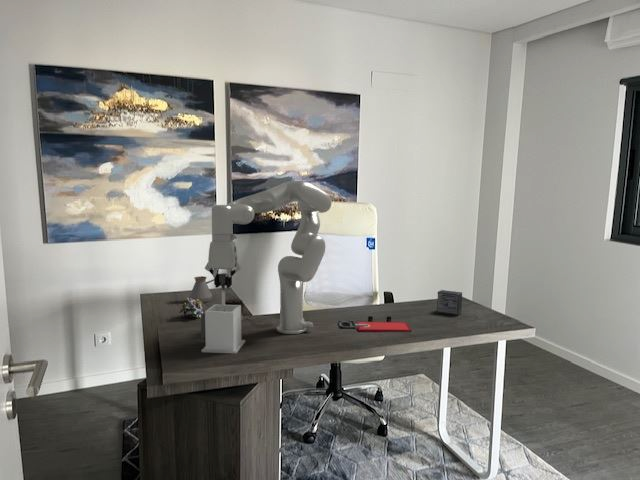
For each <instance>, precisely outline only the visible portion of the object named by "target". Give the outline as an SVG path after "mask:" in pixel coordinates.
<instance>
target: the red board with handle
mask: <svg viewBox="0 0 640 480" xmlns="http://www.w3.org/2000/svg"><path fill="white" fill-rule="evenodd" d="M373 318H374V316H370V315H369V316H368V317H367V321H355V322H354V320H353V321H352V320H351V321H350V320H349V321H348V320H346V321H345V320H341V321H340V320H338V324H339V327H340V328H354V329H357V332H359V333H363V332H364V333H368V332H369V333H371V332H372V333H374V332H375V333H378V332H379V333H382V332H383V333H387V332H388V333H389V332H390V333H393V332H394V333H401V332H402V333H405V332H406V333H407V332H409V333H412V332H413V331H412V328H410V326H409V324H408V323H407V322H406V321H392V316H386V321H373V320H374V319H373Z"/></svg>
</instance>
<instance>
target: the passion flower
mask: <svg viewBox="0 0 640 480" xmlns="http://www.w3.org/2000/svg"><path fill="white" fill-rule="evenodd" d="M186 300H187V303H186V302H184V303H181V304H180V306H181V307H182V309H181V310H179V313H178V314H181V313H182V312H183V313H182V318H184V317H185V315H186V314H187V313H189V312H191V314H192V315H193V316H194V317H195V318H196V319H201V314H202V313H204V312H203V311H204V308H203V306H204V303H202V302H201V300H200V299H199V300H198V299H197V300H196V301H195V300H193V299H192V298H190V297H188V296H186Z"/></svg>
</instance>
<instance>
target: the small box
mask: <svg viewBox="0 0 640 480" xmlns="http://www.w3.org/2000/svg"><path fill="white" fill-rule="evenodd" d="M462 303H463V292H461V291H454V290H453V291H452V290H443V289H440V290H439V291H437V308H436V313H437V314H444V315H452V316H459V315H460V314H462V307H463V306H462V305H463V304H462Z"/></svg>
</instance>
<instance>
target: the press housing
mask: <svg viewBox="0 0 640 480" xmlns="http://www.w3.org/2000/svg"><path fill="white" fill-rule="evenodd" d="M241 330H242V323H241V305H225V312H223V311H222V304H213V305H211V306H210V307H209V308H208V309H206V310H204V312H203V313H202V314H201V318H200V335H201V336H200V337H201V339H205V346H204V347H203V348H202V349H201V353H210V354H211V353H213V354H234V355H235V354H237V353H238V352H239V351H240V349H241V348H242V347H243V346H244V344H245V343H246V339H242V331H241Z"/></svg>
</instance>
